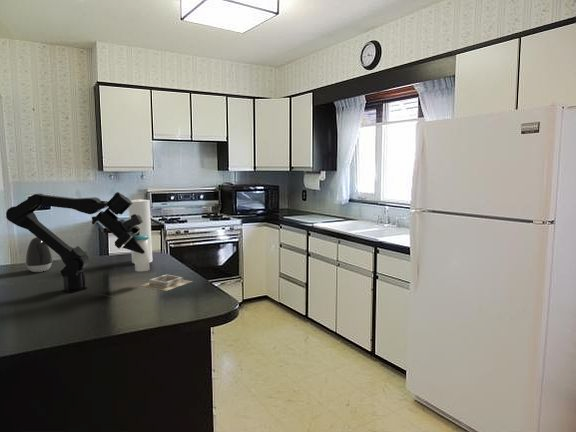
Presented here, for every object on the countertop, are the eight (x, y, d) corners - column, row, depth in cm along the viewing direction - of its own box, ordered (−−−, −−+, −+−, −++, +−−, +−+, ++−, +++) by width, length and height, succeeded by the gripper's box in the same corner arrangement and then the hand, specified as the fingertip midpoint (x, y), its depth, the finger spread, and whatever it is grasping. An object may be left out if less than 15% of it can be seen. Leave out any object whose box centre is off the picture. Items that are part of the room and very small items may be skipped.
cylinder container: (155, 259, 203) (152, 198, 200) (147, 263, 194) (144, 200, 190) (137, 259, 204) (134, 198, 200) (128, 263, 195) (124, 200, 191)
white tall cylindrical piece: (141, 272, 153) (139, 237, 152) (131, 270, 156) (129, 236, 155) (153, 268, 158) (151, 235, 157) (143, 267, 161) (141, 234, 159)
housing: (166, 292, 150) (165, 285, 150) (139, 286, 157) (139, 280, 157) (192, 282, 162) (192, 276, 162) (167, 278, 169) (166, 272, 169)
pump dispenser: (44, 273, 177) (41, 239, 175) (21, 274, 177) (17, 239, 176) (58, 268, 187) (55, 235, 186) (35, 268, 188) (33, 235, 186)
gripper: (122, 210, 145) (156, 240, 148) (133, 205, 163) (163, 232, 166) (100, 233, 144) (134, 262, 147) (113, 225, 163) (144, 252, 166)
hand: (145, 251), depth 157 cm, fingers closed on white tall cylindrical piece, 5 cm apart
